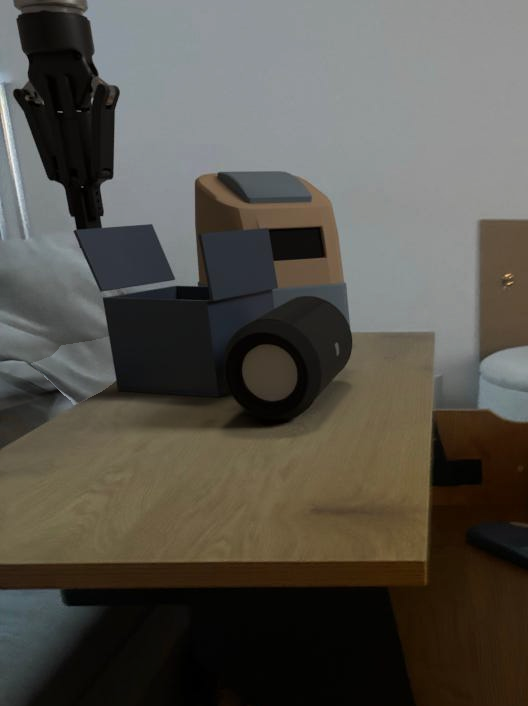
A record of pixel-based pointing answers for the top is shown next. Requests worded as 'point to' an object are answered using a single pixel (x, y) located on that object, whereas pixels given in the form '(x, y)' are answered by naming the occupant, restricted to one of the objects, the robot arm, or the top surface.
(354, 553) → the top surface
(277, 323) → the portable speaker
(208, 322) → the carton
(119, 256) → the flap
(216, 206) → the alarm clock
